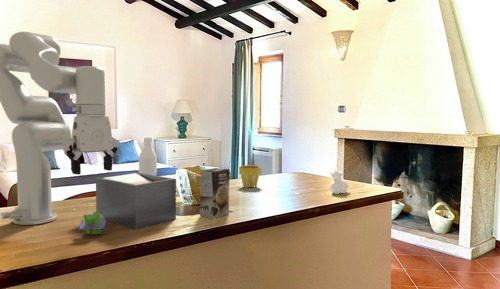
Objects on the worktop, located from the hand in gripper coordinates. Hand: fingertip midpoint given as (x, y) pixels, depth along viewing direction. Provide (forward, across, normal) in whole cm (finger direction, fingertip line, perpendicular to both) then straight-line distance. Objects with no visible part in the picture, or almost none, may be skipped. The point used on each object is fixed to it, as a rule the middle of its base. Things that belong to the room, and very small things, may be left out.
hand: (92, 172), depth 111 cm
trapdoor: (+7, +19, +8) cm, 22 cm away
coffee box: (+19, +39, -11) cm, 45 cm away
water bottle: (+18, +39, +25) cm, 50 cm away
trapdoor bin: (+18, +19, +6) cm, 27 cm away
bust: (+19, +104, -28) cm, 109 cm away
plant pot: (+19, +89, +11) cm, 91 cm away
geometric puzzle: (+19, 0, +1) cm, 19 cm away
